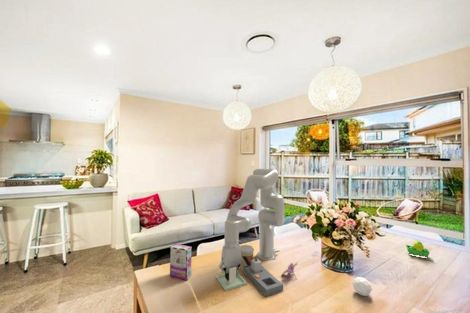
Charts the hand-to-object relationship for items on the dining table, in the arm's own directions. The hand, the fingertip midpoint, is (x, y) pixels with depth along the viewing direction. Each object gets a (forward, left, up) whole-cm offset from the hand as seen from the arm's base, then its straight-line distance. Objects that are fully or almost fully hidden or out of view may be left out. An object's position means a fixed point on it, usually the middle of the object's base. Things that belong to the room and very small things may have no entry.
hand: (231, 277), depth 108 cm
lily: (-32, +10, -3) cm, 34 cm away
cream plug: (0, 0, -2) cm, 2 cm away
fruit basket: (-129, +28, -3) cm, 132 cm away
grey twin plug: (-15, +1, -2) cm, 15 cm away
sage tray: (0, 0, -2) cm, 2 cm away
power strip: (-15, +7, -2) cm, 17 cm away
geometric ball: (-54, +36, -3) cm, 65 cm away
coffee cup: (-14, -9, -3) cm, 17 cm away
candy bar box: (+23, -17, -3) cm, 29 cm away
